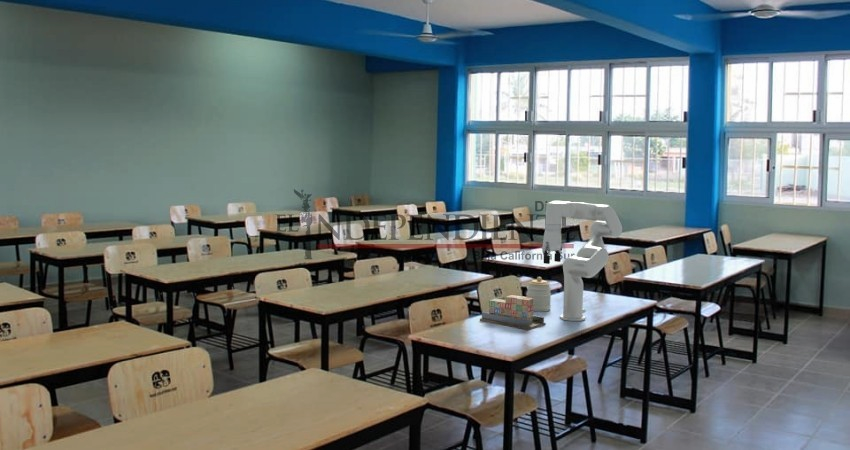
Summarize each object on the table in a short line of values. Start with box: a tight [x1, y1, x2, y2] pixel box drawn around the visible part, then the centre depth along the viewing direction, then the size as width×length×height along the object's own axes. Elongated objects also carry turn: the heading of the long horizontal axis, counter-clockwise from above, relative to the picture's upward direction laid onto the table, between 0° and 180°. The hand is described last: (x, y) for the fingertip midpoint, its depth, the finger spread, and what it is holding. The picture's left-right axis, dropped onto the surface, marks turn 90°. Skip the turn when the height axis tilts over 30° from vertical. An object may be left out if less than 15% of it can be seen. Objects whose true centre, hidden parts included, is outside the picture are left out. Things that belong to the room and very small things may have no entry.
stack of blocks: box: [488, 294, 534, 323], centre depth 371 cm, size 21×6×12 cm, turn 55°
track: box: [479, 311, 547, 331], centre depth 371 cm, size 16×28×4 cm, turn 49°
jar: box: [526, 276, 552, 312], centre depth 404 cm, size 13×13×18 cm
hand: (552, 262), depth 368 cm, fingers open, 9 cm apart
